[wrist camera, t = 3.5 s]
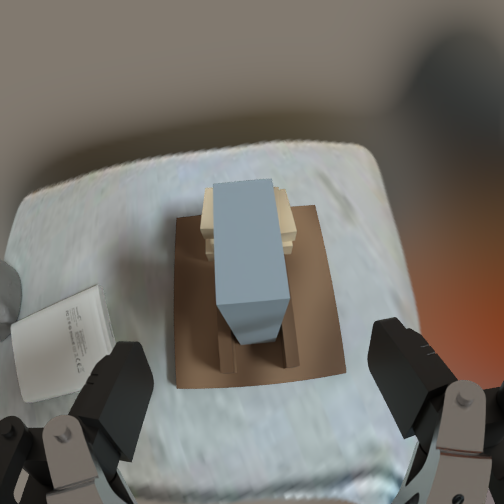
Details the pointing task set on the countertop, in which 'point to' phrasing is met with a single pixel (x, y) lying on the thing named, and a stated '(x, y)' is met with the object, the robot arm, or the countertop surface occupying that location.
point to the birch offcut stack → (284, 218)
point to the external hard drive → (61, 345)
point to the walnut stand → (262, 354)
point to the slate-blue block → (249, 260)
